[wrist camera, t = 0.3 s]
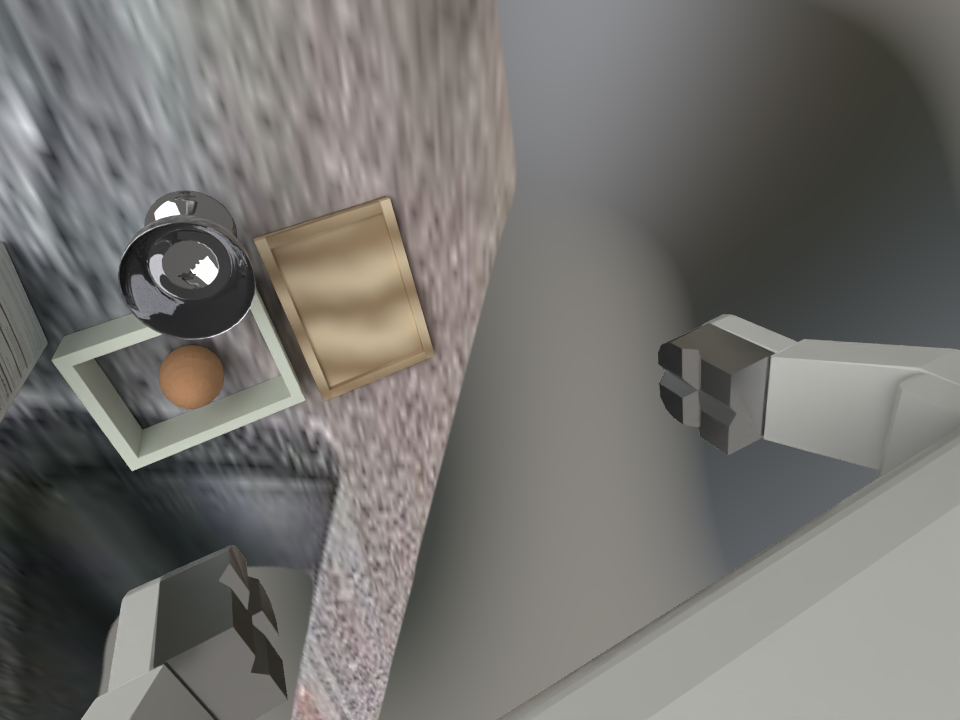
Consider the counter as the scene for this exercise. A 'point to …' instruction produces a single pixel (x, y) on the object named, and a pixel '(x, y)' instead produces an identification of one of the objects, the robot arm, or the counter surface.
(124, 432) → the bin
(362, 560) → the counter surface
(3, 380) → the supplement box
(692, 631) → the robot arm
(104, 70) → the counter surface
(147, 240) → the wine glass
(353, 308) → the tray
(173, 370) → the egg
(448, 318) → the counter surface
